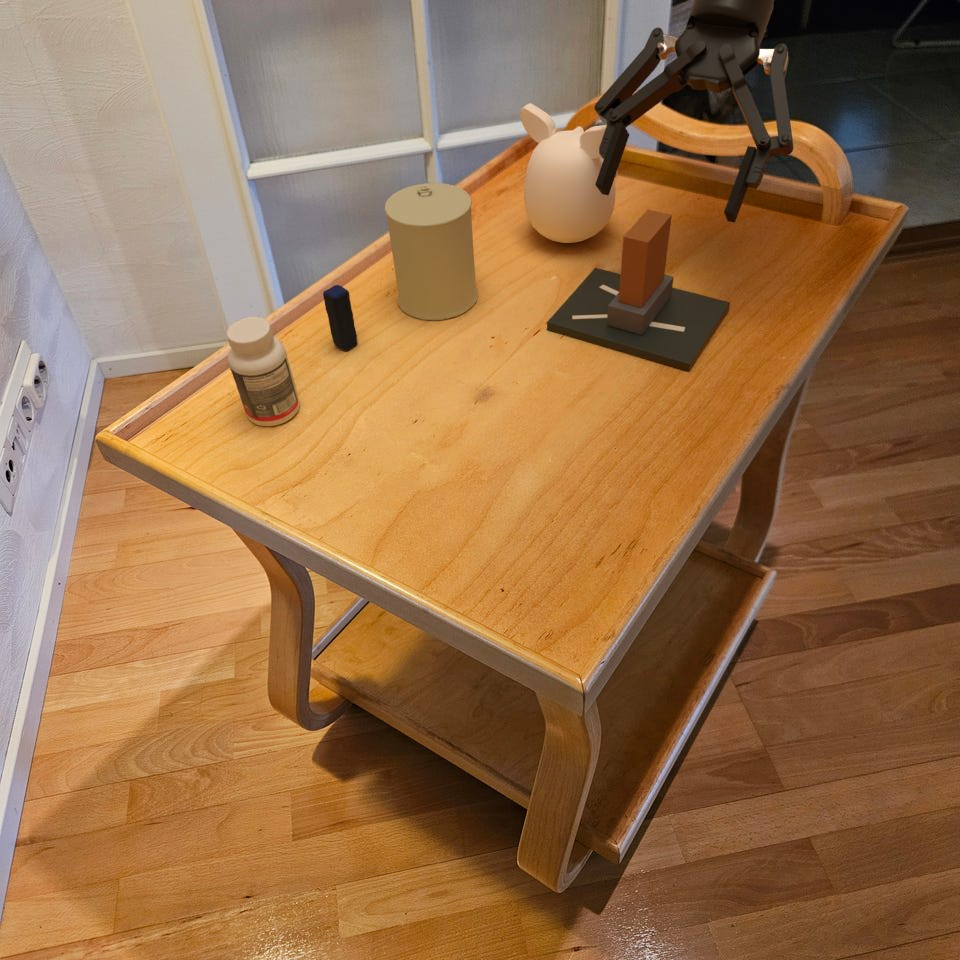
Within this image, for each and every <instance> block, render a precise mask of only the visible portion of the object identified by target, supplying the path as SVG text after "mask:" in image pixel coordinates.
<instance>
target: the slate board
mask: <svg viewBox="0 0 960 960" xmlns="http://www.w3.org/2000/svg"><path fill="white" fill-rule="evenodd" d="M620 276H621V273H618V272H614V271H610V270H606V269H602V268H598V267H594V268H593V269H592V271H591V272H590V273H589V274H588V275H587V276H586V277H585V279H583V281H582V282H581V283H580V284H579V285H578V287H577V288H576V289H574V291H573V292H572V293H571V294H570V296H569V297H567V298H566V300H565V301H564V302H563V303H562V304H561V306H560V307H558V309H557V310H556V311H555V313H554V314H553V315H551V316H550V318H549V319H548V321H547V322H546V331H551V332H554V333H557V334H560V335H564V336H567V337H571V338H575V339H578V340H581V341H584V342H588V343H591V344H595V345H598V346H601V347H605V348H608V349H611V350H615V351H618V352H621V353H625V354H628V355H632V356H635V357H638V358H641V359H645V360H649V361H650V362H651V361H652V362H654V363H659V364H662V365H665V366H668V367H672V368H675V369H679V370H682V371H686V372H690V371H691V369H692V367H693V366H694V364H695V363H696V362H697V360H698V359H699V356H700V355H701V354H702V352H703V350H704V349H705V347H707V344H709V341H710V340H711V338H712V336H713V335H714V334H715V332H716V331H717V329H718V327H719V326H720V325H721V323H722V321H723V320H724V318H725V317H726V316H727V313H728V312H729V310H730V306H731V302H730V301H727V300H723V299H719V298H715V297H711V296H708V295H703V294H701V293H696V292H693V291H692V292H691V291H687V290H684V289H680V288H676V287H673V286H672V293H671V297H670V298H669V300H668V301H667V302H666V304H665V305H664V306H663V308H662V309H661V310H660V312H659V313H658V314H657V316H656V317H655V318H654V320H653V321H652V322H651V324H650V325H649V326H648V328H647V329H646V330H645V332H644V333H643V334H642V335H639V334H636V333H632V332H629V331H625V330H622V329H619V328H615V327H612V326H608V325H607V315H608V305H609V304H610V303H611V301H612V300H613V299H614V298H615V296H616V295H617V294H618V293H619V289H620Z"/></svg>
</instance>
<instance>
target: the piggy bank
mask: <svg viewBox="0 0 960 960" xmlns="http://www.w3.org/2000/svg"><path fill="white" fill-rule="evenodd" d="M519 117H520V121H521V124H522V127H523V128H524V130H525V132H526V133H527V134H528V136H529V137H530V138H531V139H532V140H533V141H535V142H536V143H538V144H537V145H536V146H535V148H534V149H533V151H532V153H531V155H530V158H529V160H528V163H527V167H526V173H525V176H524V177H525V178H524V185H523V201H524V202H523V203H524V209H525V213H526V217H527V220H529V221H528V222H529V223H530V224H531V226H532V228H534V230H535V231H537V233H539V234H540V235H541V236H542V237H544V238H546V239H548V240H550V241H553V242H556V243H563V244H573V243H579V242H583V241H586V240H589V239H591V238H592V237H594V236H596V235H598V234H599V233H600V232H601V231H602V230H603V229H604V228H605V227H606V226H607V224H608V223H609V221H610V219H611V217H612V215H613V212H614V210H615V205H616V196H617V195H616V193H617V192H616V191H617V190H616V178H617V176H618V173H619V172H618V170H617V172H616V175H615V178H614V181H613V184H612V187H611V190H610V193H609V196H608V195H604V194H602V193H601V192H600V191H599V189H598V188H597V187H596V185H595V184H596V181H597V178H598V175H599V172H600V169H601V166H602V163H603V160H604V159H603V158H602V157H601V155H600V154H599V147H600V144H601V141H602V138H603V135H604V132H605V129H606V126H607V124H603V125H595V126H590V127H589V128H587V129H586V130H585V131H584V128H583V127H582V126H581V125H579V126H576V128H574V129H570V130H562V131H561V130H560V131H557V129H556V123H555V121H554V119H553V118H552V116H551V115H550V114H548V113H547V112H546V111H545V110H543V109H541V108H540V107H538V106H537V105H535V104H534V103H531V102H530V103H527V104H526V105H524V106H523V107H521V109H520V111H519ZM556 131H557V132H556Z"/></svg>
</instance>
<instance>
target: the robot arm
mask: <svg viewBox="0 0 960 960" xmlns="http://www.w3.org/2000/svg"><path fill="white" fill-rule="evenodd" d="M775 1H776V0H694V2H693V4H692V7H691V10H690V13H689V16H688V18H687V22H686V26H685V28H684V30H683V32H682V33H681V34H680V35H679V36H678V37H677V36H674V35H669V34H665V33H664V30H663V29H662V28H661V27H659V26H658V27H654V28H653V29H652V31H651V33H650V34H649V36H648V38H647V40H646V42H645V45H644V47H643V49H642V50H641V51H640V52H639V53H638V54H637V55H636V57H635V58H634V59H633V60H632V61H631V62H630V64H629V65H628V66H627V67H626V68H625V69H624V70H623V72H622V73H620V75H619V76H618V78H616V80H615V81H614V82H613V83H612V84H611V85H610V87H609V88H608V89H607V90H606V91H605V92H604V94H602V96H601V97H600V98H599V99H598V100H597V102H596V103H595V104H594V107H593V109H594V111H595V113H596V114H597V116H598V118H599V119H600V121H601V122H602V123H606V125H607V126H606V129H605V132H604V135H603V138H602V141H601V144H600V147H599V154H600V155H601V157H602V158H603V159H604V160H603V163H602V166H601V169H600V172H599V175H598V178H597V181H596V184H595V185H596V187H597V188H598V189H599V191H600V192H601V193H602V194H604V195H608V196H609V193H610V190H611V187H612V184H613V181H614V178H615V175H616V172H617V170H618V169H619V167H620V164H621V161H622V158H623V155H624V152H625V149H626V146H627V143H628V140H629V138H630V133H629V130H628V129H627V127H629V126H630V125H632V124H633V123H634V122H636V121H637V120H638V119H640V118H641V117H643V115H645V114H646V113H648V112H649V111H650V110H652V109H653V108H654V107H656V106H657V105H658V104H660V103H661V102H662V101H663V100H665V99H666V98H668V97H669V96H670V95H672V94H673V93H677V92H679V91H681V90H682V89H683V88H685V87H687V86H689V87H691V90H695V91H696V90H697V91H703V90H708V91H710V92H712V93H717V94H722V93H723V92H726V91H727V90H730V89H731V92H732V94H733V96H734V99H735V102H736V103H737V104H738V107H739V109H740V112H741V114H742V116H743V119H744V122H745V123H746V126H747V128H748V131H749V132H750V135H751V137H752V139H753V142H754V145H755V146H751V145H747V147H746V151H745V153H744V156H743V159H742V161H741V164H740V166H739V170H738V171H737V175H736V178H735V181H734V184H733V186H732V189H731V192H730V195H729V198H728V201H727V202H726V206H725V209H724V212H723V213H724V216H725V219H726V222H729V223H734V224H735V223H736V221H737V220H738V219H737V218H738V215H739V213H740V210H741V208H742V204H743V202H744V199H745V198H746V197H745V196H746V193H747V191H748V189H753V190H757V189H758V188H759V186H760V185H761V182H762V180H763V177H764V174H765V172H766V170H767V169H766V168H767V166H768V164H769V161H770V159H771V158H772V157H774V156H777V155H783V156H788V155H791V154H792V153H793V151H794V147H795V146H794V140H793V133H792V132H793V131H792V126H791V124H792V123H791V118H790V117H791V116H790V110H789V104H788V94H787V87H786V80H785V79H786V75H787V70H788V68H789V67H788V66H789V61H790V59H789V51H788V50H789V49H788V46H787V44H786V43H778V44H776V45H775V47H774V48H761V44H762V41H763V38H764V35H765V32H766V30H767V26H768V24H769V22H770V19H771V15H772V14H773V10H774V7H775V6H774V5H775V3H774V2H775ZM672 53H675V54H676V58H675V59H673V60H672V61H671V62H670V63H668V64H667V65H666V66H665V67H664V69H663V71H662V72H660V73H658V75H656V76H655V77H654V78H652V79H651V80H649V82H647V83H646V84H645V85H643V84H644V82H645V81H647V79H648V78H649V77H650V76H651V74H652V73H653V72H654V71H655V70H656V68H657V67H658V66H659V65H660V63H661V61H662V60H663V61H664V60H666V59H667V58H668V56H669V55H670V54H672ZM758 65H762V66H763V72H764V74H765V75H767V76H769V77H770V78H769V79H770V85H771V92H772V99H773V107H774V108H773V109H774V113H775V114H774V115H775V123H776V128H777V129H776V131H777V135H774V136H771V135H769V132H768V129H767V127H766V125H765V124H764V120H763V119H762V116H761V114H760V111H759V109H758V107H757V105H756V102H755V100H754V98H753V96H752V93H751V90H750V89H749V86H748V84H747V81H746V78H745V77H746V76H747V75H748V74H749V73H750V72H751V71H753V70H754V69H755V68H756V67H757V66H758ZM642 85H643V86H642ZM641 86H642V87H641ZM640 87H641V88H640ZM638 89H639V90H638ZM615 179H616V178H615Z"/></svg>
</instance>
